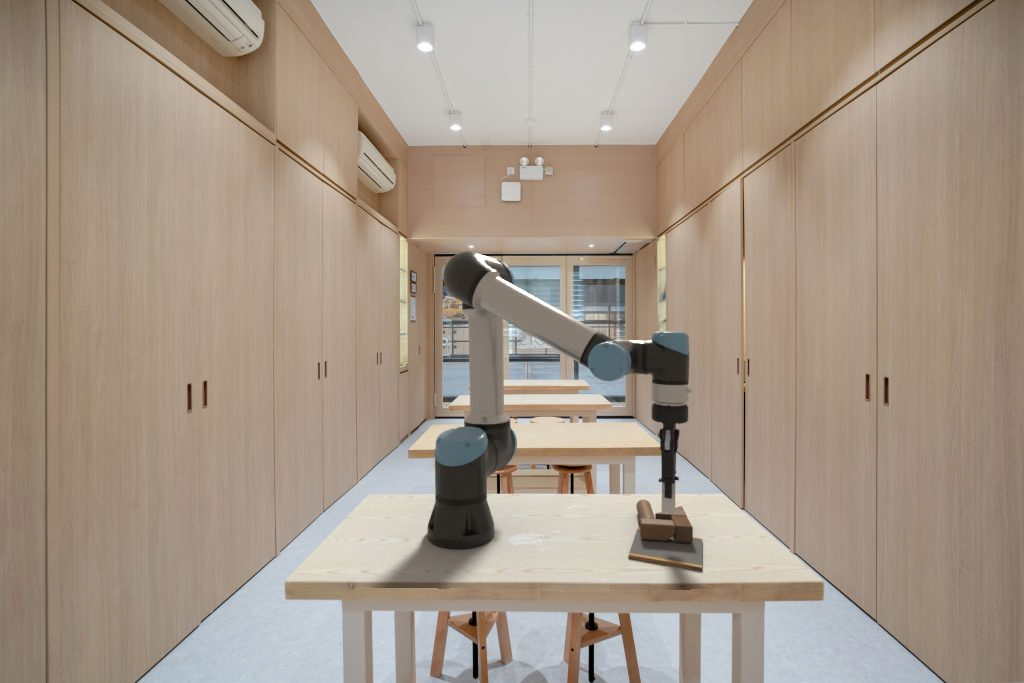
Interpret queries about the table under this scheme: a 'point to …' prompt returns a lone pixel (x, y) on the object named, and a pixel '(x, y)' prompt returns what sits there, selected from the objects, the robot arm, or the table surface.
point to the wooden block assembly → (664, 524)
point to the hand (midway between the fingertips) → (668, 510)
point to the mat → (668, 552)
